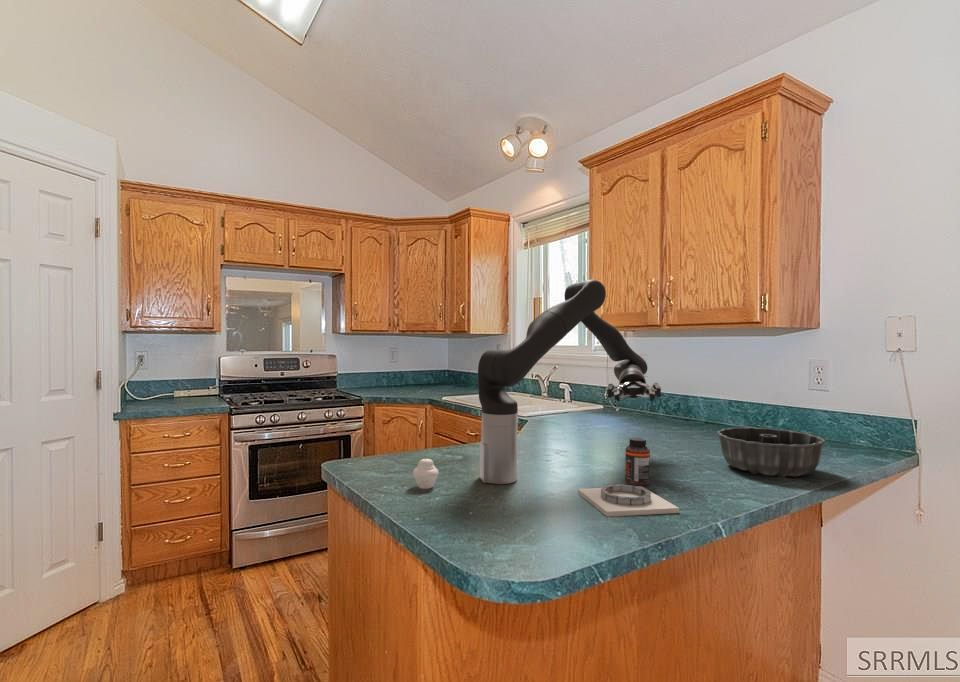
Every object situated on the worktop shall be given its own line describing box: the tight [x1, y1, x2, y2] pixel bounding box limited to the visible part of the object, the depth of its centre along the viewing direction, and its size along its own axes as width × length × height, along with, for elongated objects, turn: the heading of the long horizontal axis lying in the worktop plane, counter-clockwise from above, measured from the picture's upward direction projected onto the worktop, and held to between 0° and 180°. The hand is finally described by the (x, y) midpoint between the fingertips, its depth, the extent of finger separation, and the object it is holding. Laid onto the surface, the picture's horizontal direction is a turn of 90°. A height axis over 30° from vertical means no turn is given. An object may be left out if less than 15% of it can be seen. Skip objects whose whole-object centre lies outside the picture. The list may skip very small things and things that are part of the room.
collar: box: [601, 483, 652, 506], centre depth 111 cm, size 10×10×2 cm
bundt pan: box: [716, 427, 826, 478], centre depth 142 cm, size 26×26×10 cm
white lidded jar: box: [412, 458, 440, 490], centre depth 121 cm, size 6×6×7 cm
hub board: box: [577, 486, 680, 518], centre depth 111 cm, size 16×16×1 cm
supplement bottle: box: [624, 436, 651, 487], centre depth 127 cm, size 6×6×11 cm
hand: (634, 397), depth 135 cm, fingers open, 8 cm apart
